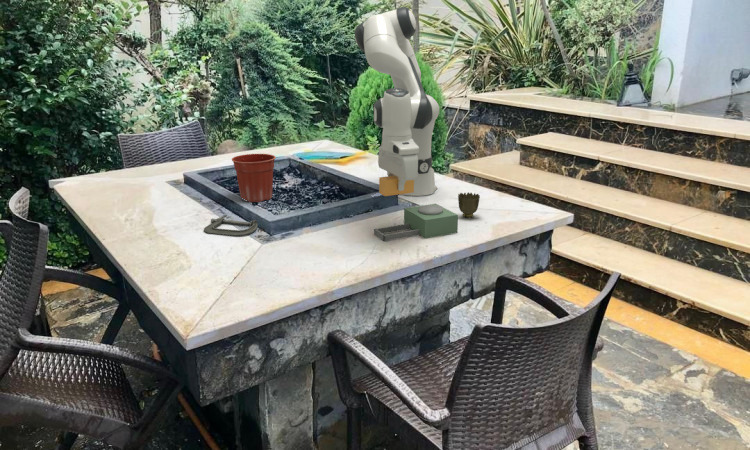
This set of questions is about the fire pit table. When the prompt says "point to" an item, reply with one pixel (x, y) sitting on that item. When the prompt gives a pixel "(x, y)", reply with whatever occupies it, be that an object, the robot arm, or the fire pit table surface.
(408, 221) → the box with open drawer
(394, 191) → the orange rectangular block
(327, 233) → the fire pit table surface
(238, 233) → the c clamp
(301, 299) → the fire pit table surface
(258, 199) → the flower pot
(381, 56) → the robot arm
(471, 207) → the cup
